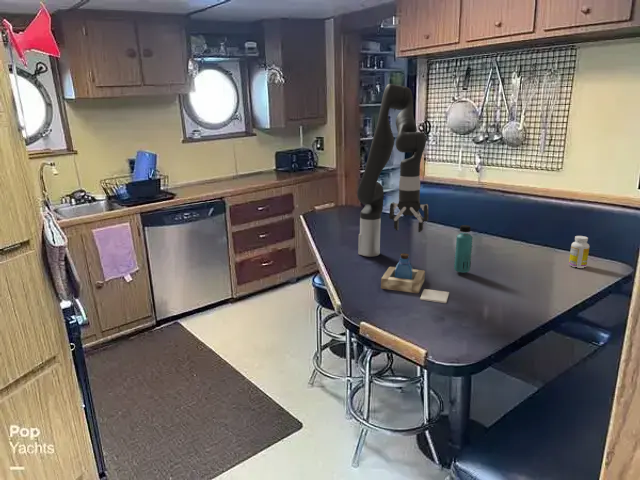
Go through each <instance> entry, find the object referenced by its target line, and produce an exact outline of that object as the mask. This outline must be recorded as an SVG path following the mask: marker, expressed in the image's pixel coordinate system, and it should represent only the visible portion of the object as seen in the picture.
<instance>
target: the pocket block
mask: <svg viewBox="0 0 640 480" xmlns="http://www.w3.org/2000/svg"><path fill="white" fill-rule="evenodd" d="M395 270H396V266H389V267H388V268H387V270H386V271H385V272H384V273H383V274H382V275H383V276H382V277H381V278H380V279H381V280H380V289H383V290H393V291H398V292H405V293H413V294H419V293H420V291H421V289H422V286H423V284H424V283H425V280H426V279H425V275H426V271H425V270H423V269H422V270H421V269H416V268H415V269H414V268H412V280H410V279H402V278H395Z"/></svg>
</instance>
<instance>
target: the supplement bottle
mask: <svg viewBox="0 0 640 480" xmlns="http://www.w3.org/2000/svg"><path fill="white" fill-rule="evenodd" d="M588 240H589V237H587V236H583V235H576V236H574V241H573V242H572V243H571V246H570V251H569V260H568V265H569V264H570V265H572V266H586V265H587V264H588V260H589V259H588V258H589V252H590V244H589V243H588ZM586 267H587V266H586Z"/></svg>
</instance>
